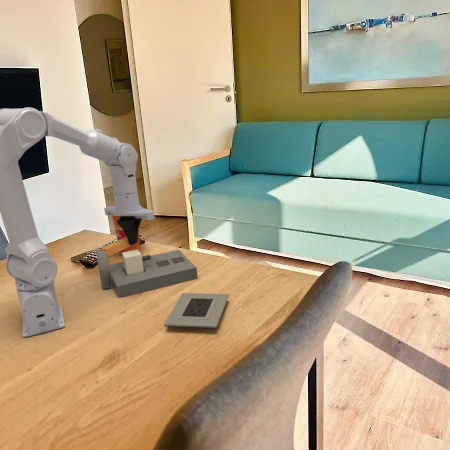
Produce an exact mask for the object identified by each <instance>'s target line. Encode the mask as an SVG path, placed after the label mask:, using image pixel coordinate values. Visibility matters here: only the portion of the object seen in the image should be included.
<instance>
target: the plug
mask: <svg viewBox="0 0 450 450" xmlns="http://www.w3.org/2000/svg"><path fill="white" fill-rule="evenodd" d="M150 256H151V255H150V254H148V255H142V253H141V251H140V252H139V250H138V249H137V250H132V251H127V252H122V255H121V257H122V262H123V263H124V270H125V274H126V276H128V275H132V274H137V273H141V272H144V269H143V262H142V261H146V260H151V257H150Z"/></svg>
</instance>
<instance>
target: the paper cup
mask: <svg viewBox="0 0 450 450" xmlns="http://www.w3.org/2000/svg"><path fill="white" fill-rule="evenodd" d="M111 217H112V223H113V225H114V230H115V231H114V232H115V235H116V239H117V240H116V241H118V240H120V239H122V238H124V237H126V235H125V233H124V231H123V229H122V228H121V227H120V225H119V224H118V223H117V220H118V219H120V216H117V215H111ZM139 231H140V230H138V235H137V243H136V244H134V245H132V246H130V247H128V248H126V249H124V250H122V251H120V252H119V253H120V255H121V256H122V252H127V251H132V250H137V249H138V250H139V252H140V253H141V249H140V248H141V247H140V246H141V245H140V233H139Z"/></svg>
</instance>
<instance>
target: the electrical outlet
mask: <svg viewBox="0 0 450 450" xmlns="http://www.w3.org/2000/svg"><path fill="white" fill-rule="evenodd" d="M229 296H230V294H229V293H201V292H199V293H197V292H196V293H192V292H182V293H181V295H180V297H179V299H178V300H177V301H176V303H175V305H174V307H173V308H172V310H171V311H170V313H169V314H168V317H166V318H167V319H166V320H165V322H164V323H163V326H164V327H168V328H186V329H188V328H189V329H210V330H211V329H212V330H216V329H217V328H218V326H219V323H220V320H221V317H222V315H223V312H224V309H225V307H226V304H227V302H228V299H229Z"/></svg>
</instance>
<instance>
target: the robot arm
mask: <svg viewBox="0 0 450 450" xmlns="http://www.w3.org/2000/svg"><path fill="white" fill-rule="evenodd" d="M44 137H52V138H56V139H57V140H58V139H59V140H61V141H64V142H67V143H70V144H72V145H74V146H78V147H79V149H80V151H81V153H82V154H83V155H86V156H89V157H90V158H94V159H97V160H99V161H102V162H103V163H104V164H105V165H106V166H107V167H109V171H110V172H109V173H110V177H111V185H112V191H113V197H114V204H115V205H109V206H106V207H104V208H103V211H104V215H105V216H112V215H117V216H120V219H118V220H117V223H118V224H119V225H120V227H121V228H122V229H123V231H124V233H125V235H126V237H127V239H128V242H129V245H134V244H136V243H137V235H138V230H139V228H140V226H141V223H142V221H143V219H145V220H146V221H151V220H153V219H155V211H154V210H151V209H147V208H144V207H143V206H142V205H141V204H140V200H139V199H140V197H139V191H138V183H137V179H136V171H137V162H138V160H139V159H138V158H139V153H138V152H137V150H136V148H134V146H133V145H132V144H130V143H128V142H120V141H119V139H118V138H117V137H114V136H111V137H110V136H108V135H107V134H103V130H101V129H99V128H94V129H89V130H86V131H84V130H82V129H79V128H77V127H75V126H74V125H72V124H70V123H67V122H66V121H64V120H61V119H59V118H57V117H56V116H54V115H51V114H50V113H48V112H45V111H42V110H41V111H39V110H38V109H36V108H33V107H30V106H29V107H24V108H9V107H8V108H5V107H4V108H0V216H1V218H2V223H3V226H4V228H5V232H6V236H7V239H8V242H9V243H8V244H7V246H6V247H5V249H4V251H5V254H6V259H5V271H6V272H7V274H8V275H9V276H11V277H12V278H14V281H15V289H16V291H17V295H18V296H17V297H18V300H19V305H20V309H21V312H22V337H23V338H27V337H31V336H34V335H35V336H36V335H38V334H39V335H40V334H42V333H43V334H44V333H46V332H50V331H54V330H57V329H61V328H62V329H63V328H65V326H66V325H65V320H64V314H63V313H64V312H63V309H62V306H61V305H60V304H59V301H58V295H57V290H56V286H55V279H56V277H57V274H58V263H57V262H56V260H55V259H54V258H53V257H52V256H51V255H50V252H49V251H50V250H49V249H48V247H47V246H46V245H45V244H44V242H43V241H42V240H41V238H40V237H39V234H38V231H37V226H36V223H35V220H34V216H33V213H32V209H31V206H30V202H29V198H28V195H27V191H26V188H25V184H24V181H23V176H22V173H21V169H20V165H19V160H20V159H21V158H22V156H23V155H24V153H25V152H26V151H27V150H28V149H30V148H31V147H32V146H34V145H35V144H37V143H38V142H40V141H41V140H42V139H43V138H44ZM139 231H140V230H139Z"/></svg>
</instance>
